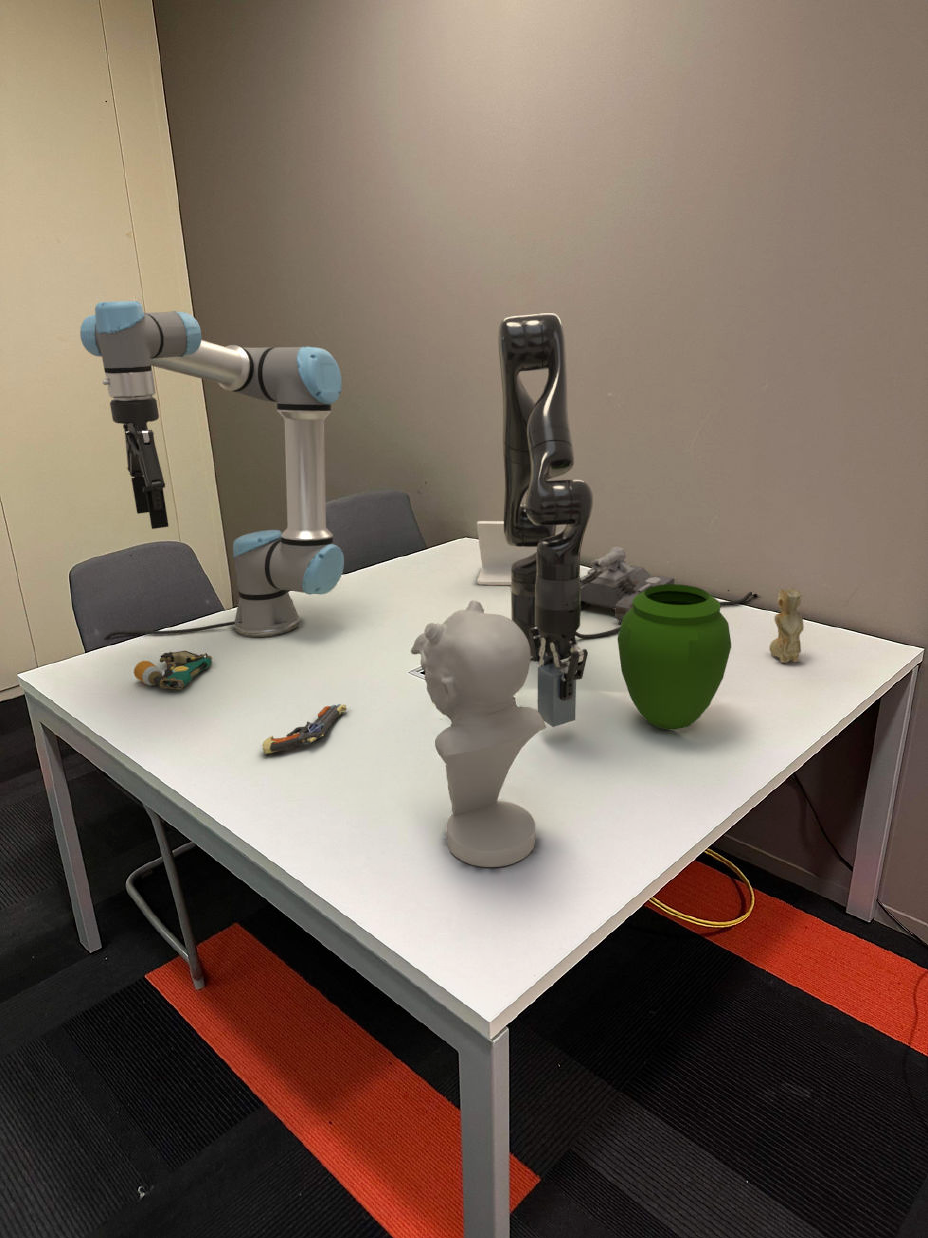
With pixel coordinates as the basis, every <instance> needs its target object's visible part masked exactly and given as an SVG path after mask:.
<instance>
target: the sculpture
mask: <svg viewBox="0 0 928 1238" xmlns="http://www.w3.org/2000/svg"><path fill="white" fill-rule="evenodd" d="M777 592H778V595H777V606H778V609H779V611H780V612H779V613H777V614H775V615H774V617H773V618H774V623H775V625H776V627H777V633H778V636H777V637H776V638H775V639H773V640H772V641H771V642H770V643H769V648H768V649H769V652H770V654H771V655H772V656H773V657H776V658H777V657H778V658H779V659H780V660H779V661H780V663H784V664H785V663H789V662H792V663H795V662H799V659H800V653H801V651H802V646H801V645H802V643H801V639H800V638H801V637H800V636H801V634H802V633H803V631H804V629H805V627H804V618H803V615H802V614H801V613H800V612H798V609H799V607H800V606H801V604H802V600H801V597H802V596H803V594H802V593H801V592H800V591H799V590H797V589H795V588H793V587H789V588H787V589H786V588H785V589H784V588H778V589H777Z"/></svg>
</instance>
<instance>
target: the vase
mask: <svg viewBox="0 0 928 1238" xmlns="http://www.w3.org/2000/svg"><path fill="white" fill-rule="evenodd" d="M719 602H720V601H719V599H717V598H715V596H713V595H711V594H710V593H708V591H706V590H705V589H702V588H699V587H697V586H692V585H687V584H677V583H676V584H675V583H674V584H667V585H658V586H653V587H650V588H648V589H646V590H645V591H644V592H642V593H640V594H639V595H637V596H635V597H634V599H633V607H632V608H631V609H630V610H629V611H628V612H627V613H626V614H625V615H624V616H623V620H622V621H621V624H620V626H621V627H620V626H619V627H620V631H619V632H618V635H617V637H616V639H617V646H618V647H617V648H618V653H619V663H620V669H621V670H620V671H621V674H622V676H623V680H624V682H625V686H626V688H627V691H628V694H629V698H630V700H631V702H632V703H633V705H634V706H635V708H636V710H637V711H638V713H639V715H640V716H641V717H642V718H643V719H644V720H645V721H646V722H647V723H648V724H649V725H651V726H653V727H656V728H659V729H661V730H671V731H672V730H681V729H686V728H689V727H690V726H691V725H692V724H694V723H695V722H696V721H697V720H698V719H699V718H700V717H701V716H702V715H703V714H704V713H705V711H706V710H707V709H708V708H709V706H710V705H711V703H712V701H713V699H714V697H715V695H716V694H717V691H718V689H719V688H720V685H721V683H722V681H723V679H724V676H725V673H726V669H727V665H728V661H729V658H730V654H731V650H732V638H731V632H730V626H729V622H728V620H727V619H726V617H725V616H724V615H723V613H721V606H720V603H719Z"/></svg>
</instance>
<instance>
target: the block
mask: <svg viewBox="0 0 928 1238" xmlns="http://www.w3.org/2000/svg"><path fill="white" fill-rule="evenodd" d="M567 672H568V666H567V667H565V673H567ZM575 672H577V671H575ZM560 680H561V679H560V675H559V669H558V668H556V667H555V662H554V663H551V664H547V665H544V666H540V667H539V666H538V667H537V711H538V712H539V713H540V715H541V716H542V718H543V720H544V722H545V724H547V725H549V726H550V727H552V728H555V727H559V726H562V725H565V724H568V723H571V722H575V721H576V715H577V714H576V712H577V711H576V710H577V680H575V681H573V696H572V698H571V699H568V700H565V701H562V700H561V699H560Z"/></svg>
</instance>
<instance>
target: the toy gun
mask: <svg viewBox="0 0 928 1238" xmlns="http://www.w3.org/2000/svg"><path fill="white" fill-rule="evenodd" d="M347 709H348V708H347V704H340V703H338V704H337V705H336V704H332V705H326V706H324V707H323V708H322V709H321V710H320V711H319V712H318V714H317V719H315V721H312V722H310V721H306V724H305V726H298V727H295V728H294V729H293V730H291V732H289V733H287V734H286V736H284V737H278V738H274V736H273V735H270V736H268V737H267V738H266V739H265V740H263V742H262V751H263V754H265V755H267V754H272V753H278V752H281V751H284V750H287V749H291V748H295V747H298V746H300V745H304V744H308V743H310V744H311V743H313V742H315V741H316V740H318V739H319V738H322V737H323V736H324V735H325V734H326V733H327V732H328V730H329V729H330V727H331V725H332V724H333V722H334V721H335V720H336V719H337V718H338V717H339V716H341V714H342V713H343V712H346V711H347Z"/></svg>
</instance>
